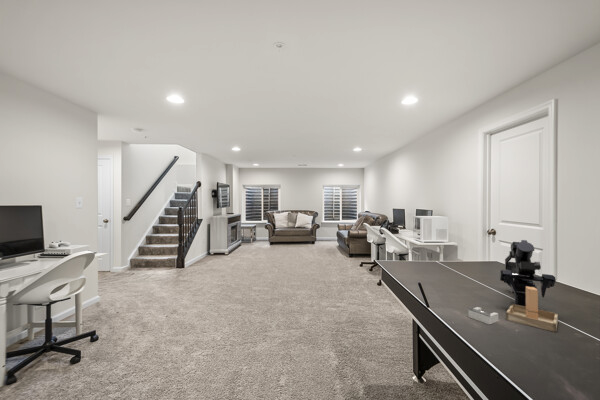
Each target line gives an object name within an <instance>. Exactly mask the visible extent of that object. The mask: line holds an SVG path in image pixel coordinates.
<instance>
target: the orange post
mask: <svg viewBox="0 0 600 400" xmlns="http://www.w3.org/2000/svg"><path fill="white" fill-rule="evenodd" d="M538 309H539V291H538V289H537V288H535V287H527V286H526V317H529V318H533V319H538Z"/></svg>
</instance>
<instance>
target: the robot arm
mask: <svg viewBox="0 0 600 400" xmlns="http://www.w3.org/2000/svg"><path fill="white" fill-rule="evenodd" d="M508 252H509V255H507V256H506V258H505V259H504V269H501V270H500V273H499V280H500V281H501V282H503V283H505V284H507V285H508V287H510V291H511V294H514V303H513V304H515V305H520V306H525V307H526V286H527V287H535V288H536V289H537V285H536V283H535V282H537V283H540V293H541V297H542V298H545V294H546V291H547V289H551V288H553V287H554V286H555V284H556V280H557V279H556V276H554V275H553V274H545V273H541V274H542V275H541V276H536V271H540V270H541V268H542V267H541V266H542V265H541V262H540V261H532V260H531V258H532V257H533V253H534V252H535V247H534V245H533V244H532V243H530V242H528V240H526V239H522V240H521V241H513V242H512V243H510V251H508ZM512 259H514V261H511V260H512Z"/></svg>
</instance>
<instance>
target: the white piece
mask: <svg viewBox="0 0 600 400" xmlns="http://www.w3.org/2000/svg"><path fill="white" fill-rule="evenodd" d="M468 318H471V319H473V320H476V321H479V322H482V323H484V324H487V325H491V324H494V323H498V322H499V321H500V319H499V313H498V312H492V313H491V312H490V313H488V312H486V311H482V307H480V306H476V307H468Z"/></svg>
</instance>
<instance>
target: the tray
mask: <svg viewBox="0 0 600 400" xmlns="http://www.w3.org/2000/svg"><path fill="white" fill-rule="evenodd" d="M505 320H506V321H509V322H514V323H518V324H521V325H525V326H529V327H533V328H537V329H542V330H546V331H549V332H553V333H557V330H558V329H557V328H558V323H559V313H556V312H552V311H547V310H542V309H539V308H538V319H533V318H529V317H526V307H525V306H520V305H515V304H514V303H511V304H510V306H509V308H508V309H507V311H506V312H505Z"/></svg>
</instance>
